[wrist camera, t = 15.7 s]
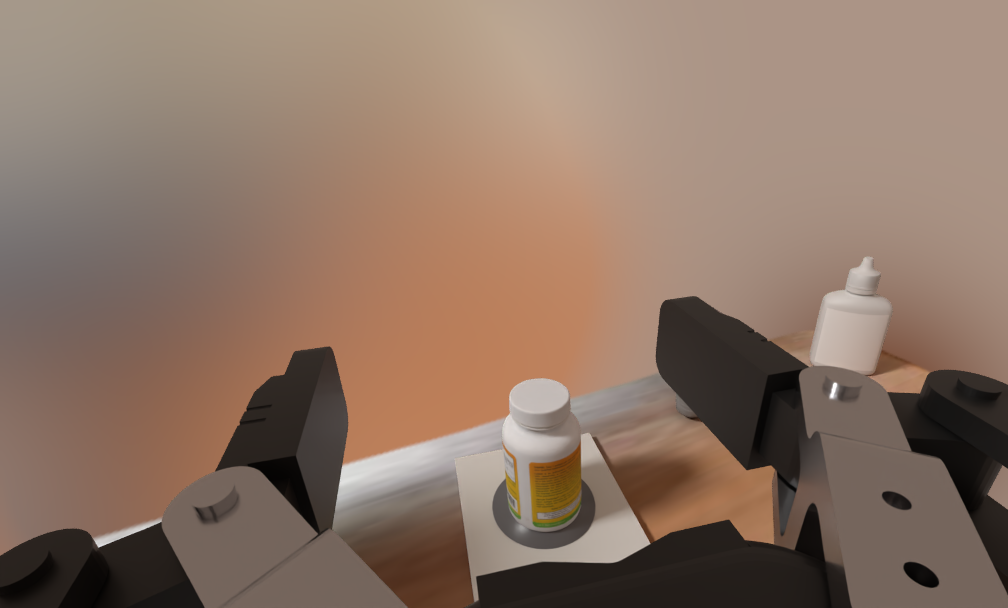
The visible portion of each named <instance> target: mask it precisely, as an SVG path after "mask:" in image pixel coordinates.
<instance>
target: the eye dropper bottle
mask: <svg viewBox="0 0 1008 608" xmlns="http://www.w3.org/2000/svg"><path fill="white" fill-rule="evenodd" d="M873 261H874V258H873V257H864V259H863V261H862V263H861V265H860V266H859V267H856V268H852V269H851V270H850V272H849V276H848V279H847V283H846V287H845V290H839V291H834V292H830V293H828V294H826V295H825V296H824V298H823V300H822V304H821V308H820V312H819V316H818V320H817V324H816V329H815V333H814V337H813V341H812V346H811V350H810V361H811V363H812V364H813V365H814V366H834V367H840V368H845V369H848V370H852V371H855V372H858V373H860V374H863V375H871V374H873V373H874V372H875V370H876V367H877V364H878V361H879V357H880V354H881V351H882V347H883V344H884V341H885V337H886V334H887V331H888V327H889V324H890V320H891V316H892V312H893V307H892V305H891V303H890V301H889V300H887V299H886V298H884V297H882V296H880V295H878V294H875V293H876V291H877V287H878V284H879V280H880V277H881V273H880V272H879V271H877V270H875V269H874V268H873V267H874V266H873V265H874V264H873V263H874V262H873Z"/></svg>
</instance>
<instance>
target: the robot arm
mask: <svg viewBox="0 0 1008 608" xmlns="http://www.w3.org/2000/svg"><path fill="white" fill-rule="evenodd" d="M656 363H657V367H658V370H659V373H660V375H661V377H662V378H663V379H664V380H665V381H666V383H667V384H668V385H669V386H670V387H671V388H672V389H673V390H674V391H675V392H676V393H677V395H678V396H679V397H680V398H681V399H682V400H683V401H684V402H685V403H686V404H687V405H688V407H689V408H690V409H691V410H692V411H693V412H694V413H695V414H696V415H697V416H698V418H699V419H700V420H701V421H702V422H703V423H704V424H705V425H706V426H707V427H708V428H709V430H710V431H711V432H712V433H713V434H714V435H715V436H716V437H717V438H718V439H719V440H720V442H721V443H722V444H723V445H724V446H725V447H726V448H727V449H728V450H729V451H730V452H731V454H732V455H733V456H734V457H735V458H736V459H737V460H738V461H739V462H740V463H741V464H742V466H743V467H744V468H745V469H746V470H750V469H755V468H760V467H765V466H769V465H771V466H772V467H773V468H774V469H775V472H774V476H773V480H772V497H773V522H774V544H769V543H763V542H756V541H747V540H744V539H743V537H742V536H741V535H740V533H739V532H738V531H737V529H736V528H735V527H734V526H733V524H732V523H731V522H730V520H725V521H720V522H716V523H711V524H707V525H702V526H698V527H694V528H689V529H685V530H680V531H676V532H671V533H669V534H667V535H666V536H664V537H662V538H660V539H658V540H657V541H655V542H653V543H651V544H649V545H648V546H646V547H644V548H642V549H640V550H639V551H637V552H635V553H633V554H631V555H629V556H628V557H626V558H624V559H622V560H620V561H618V562H614V563H585V562H538V563H534V564H529V565H525V566H520V567H516V568H511V569H507V570H502V571H498V572H494V573H489V574H485V575H480V576H476V582H477V590H478V598H479V600H477V601H476V602H474V603H472V604H470V605H468V606H466V607H465V608H1008V510H1007V509H1006V508H1005V507H1003V506H1002V505H1001V504H999V503H998V502H996V501H995V500H994V499H992V498H991V497H990V496H988V495H987V494H988V492H989V490H990V488H991V486H992V484H993V482H994V480H995V479H996V476H997V475H998V473H999V471H1000V469H1001V467H1002V465H1003V466H1005V467H1006V468H1008V385H1007V384H1004V383H1002V382H1000V381H997V380H995V379H992V378H989V377H986V376H982V375H979V374H975V373H970V372H965V371H957V370H938V371H934V372H931V373H929V374H928V375H927V377H926V380H925V383H924V385H923V388H922V390H921V393H920V394H917V393H893V392H886V390H885V389H884V388H883V387H882V386H881V385H880V384H879V383H877V382H876V381H874V380H873V379H871V378H869V377H867V376H865V375H863V374H860V373H858V372H855V371H852V370H848V369H845V368H840V367H834V366H813V367H808V366H807V365H805V364H804V363H802V362H801V361H799V360H798V359H796V358H795V357H793V356H792V355H790V354H789V353H787V352H786V351H784V350H783V349H782V348H780V347H779V346H777V345H776V344H774V343H773V342H771V341H767V338H765V337H764V336H762V335H761V334H759V333H758V332H756V333H755V332H754V330H753V329H752V328H750V327H749V326H747V325H746V324H744V323H743V322H741V321H740V320H738V319H735V318H733V317H730V316H727V315H724V314H722V313H720V312H718V311H717V310H716V309H714V308H713V307H711V306H710V305H708V304H707V303H705V302H704V301H702V300H701V299H699V298H698V297H695V296H692V297H684V298H677V299H670V300H665V301H664V302H663V303H662V305H661V308H660V316H659V326H658V337H657V347H656ZM347 432H348V413H347V406H346V401H345V397H344V393H343V389H342V385H341V381H340V376H339V373H338V368H337V364H336V361H335V356H334V353H333V350H332V348H331V347H322V348H315V349H308V350H301V351H295V352H294V353H293V355H292V358H291V360H290V363H289V365H288V367H287V370H286V372H285V375H280V376H273V377H271V378H270V379H268V380H267V381H266V382H265V383H264V384H263V385H262V386H261V387H260V388H259V389H257V390H256V391H255V392H254V394H253V396H252V398H251V400H250V402H249V404H248V406H247V411H246V412H244V414H243V416H242V419H241V420H240V425H239V426H237V428H236V430H235V432H234V434H233V437H232V438H231V441H230V442H229V444H228V447H227V449H226V451H225V453H224V455H223V457H222V459H221V461H220V463H219V465H218V467H217V469H216V471H215V472H213V473H211V474H208V475H206V476H204V477H202V478H200V479H199V480H197V481H195V482H194V483H192V484H191V485H189V486H188V487H186V488H185V489H184V490H183V491H181V492H180V493H179V494H178V495H177V496H176V497H175V498H174V499H173V500H172V501H171V503H170V504H169V506H168V507H167V509H166V511H165V512H164V515H163V518H162V522H160V523H158V524H156V525H154V526H151V527H149V528H146V529H144V530H141V531H139V532H136V533H134V534H131V535H129V536H126V537H124V538H121V539H119V540H116V541H114V542H111V543H109V544H106V545H104V546H101V547H99V548H98V546H97V545H96V543H95V541H94V540H93V538H92V537H91V535H90V534H89V533H88V532H86V531H84V530H80V529H63V530H57V531H54V532H50V533H46V534H43V535H41V536H38V537H36V538H33V539H31V540H28V541H26V542H24V543H22V544H20V545H18V546H16V547H14V548H13V549H11V550H9V551H8V552H6V553H4V554H3V555H1V556H0V608H408V607H407V606H406V605H405V604H404V603H403V602H402V601H401V600H400V599H399V598H398V597H397V596H396V595H395V594H394V592H393V591H392V590H391V589H390V588H389V587H388V586H387V585H386V584H385V583H384V582H383V581H382V580H381V579H380V578H379V577H378V576H377V575H376V574H375V573H374V572H373V571H372V570H371V569H370V568H369V566H368V565H367V564H366V563H365V562H364V561H363V560H362V559H361V558H360V557H359V556H358V555H357V554H356V553H355V552H354V551H353V550H352V549H351V548H350V547H349V546H348V545H347V544H346V543H345V541H344V540H343V539H342V538H341V537H340V536H339V535H338V534H337V533H335V532H334V531H333V530H332V525H333V519H334V513H335V506H336V500H337V494H338V488H339V482H340V475H341V469H342V463H343V457H344V450H345V444H346V438H347Z"/></svg>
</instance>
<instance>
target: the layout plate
mask: <svg viewBox="0 0 1008 608" xmlns="http://www.w3.org/2000/svg"><path fill="white" fill-rule="evenodd" d="M455 463H456V471H457V478H458V485H459V493H460V500H461V508H462V515H463V522H464V530H465V537H466V544H467V552H468V559H469V567H470V574H471V581H472V589H473V596H474V602H476V601H477V600H479V598H478V590H477V582H476V576H480V575H485V574H489V573H494V572H498V571H502V570H507V569H511V568H516V567H520V566H525V565H529V564H534V563H538V562H585V563H614V562H618V561H620V560H622V559H624V558H626V557H628V556H629V555H631V554H633V553H635V552H637V551H639V550H640V549H642V548H644V547H646V546H648V545H649V544H650V542H649V540H648V538H647V536H646V535H645V533H644V531H643V529H642V527H641V526H640V524H639V522H638V520H637V518H636V516H635V515H634V513H633V511H632V509H631V507H630V506H629V504H628V502H627V500H626V498H625V497H624V495H623V493H622V491H621V489H620V488H619V486H618V484H617V482H616V480H615V478H614V477H613V475H612V473H611V471H610V469H609V468H608V466H607V464H606V462H605V460H604V459H603V457H602V455H601V453H600V451H599V450H598V448H597V446H596V444H595V442H594V440H593V439H592V437H591V435H590V433H586V434H581V508H580V511H579V513H578V515H577V517H576V518H575V520H574V521H573V522H572V523H571V524H569V525H568V526H566V527H565V528H563V529H560V530H557V531H552V532H539V531H534V530H531V529H528V528H526V527H524V526H522V525H521V524H520V523H518V522H517V521H516V519H515V518H514V517H513V515H512V514H511V511H510V509H509V504H508V497H507V486H506V475H505V464H504V453H503V449H501V450H496V451H491V452H486V453H480V454H475V455H470V456H464V457H459V458H455Z"/></svg>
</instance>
